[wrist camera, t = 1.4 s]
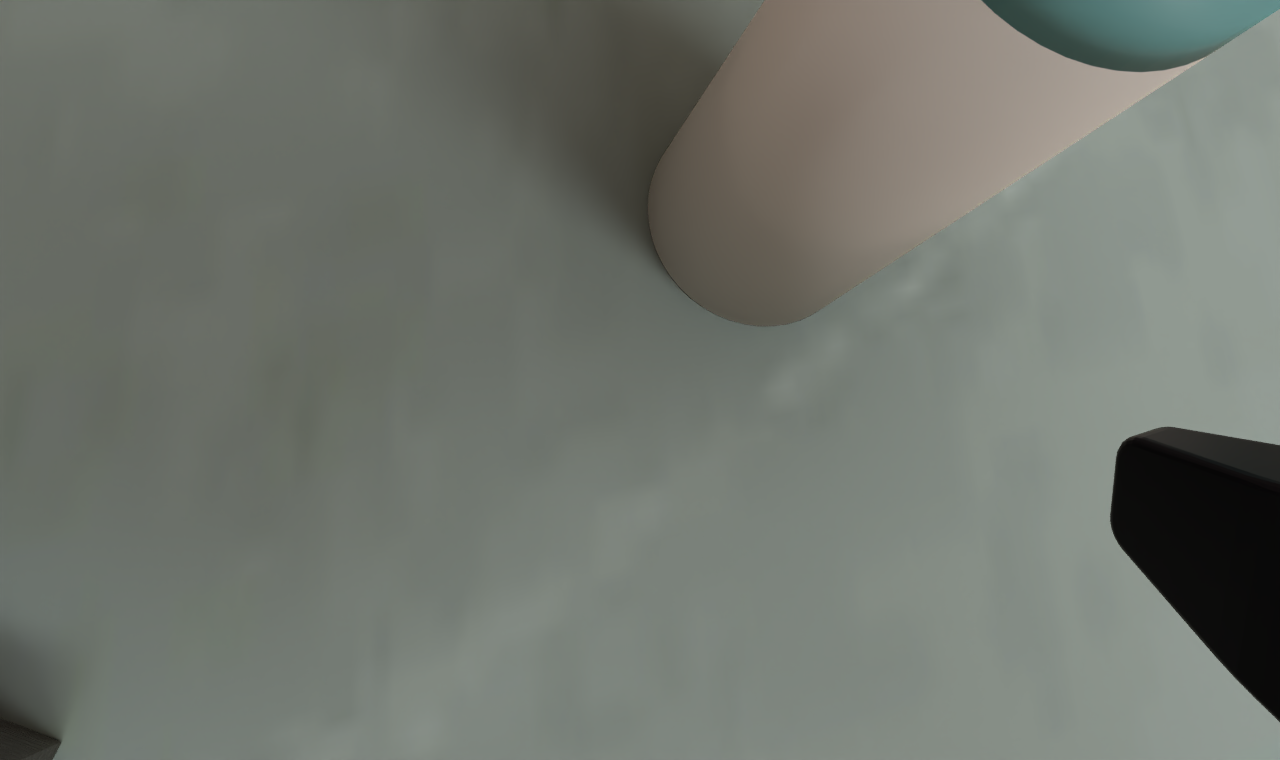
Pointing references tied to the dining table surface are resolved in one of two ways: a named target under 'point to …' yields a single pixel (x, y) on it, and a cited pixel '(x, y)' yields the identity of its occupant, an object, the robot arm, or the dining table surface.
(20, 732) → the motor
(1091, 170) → the dining table surface
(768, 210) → the beige teal capped bottle
